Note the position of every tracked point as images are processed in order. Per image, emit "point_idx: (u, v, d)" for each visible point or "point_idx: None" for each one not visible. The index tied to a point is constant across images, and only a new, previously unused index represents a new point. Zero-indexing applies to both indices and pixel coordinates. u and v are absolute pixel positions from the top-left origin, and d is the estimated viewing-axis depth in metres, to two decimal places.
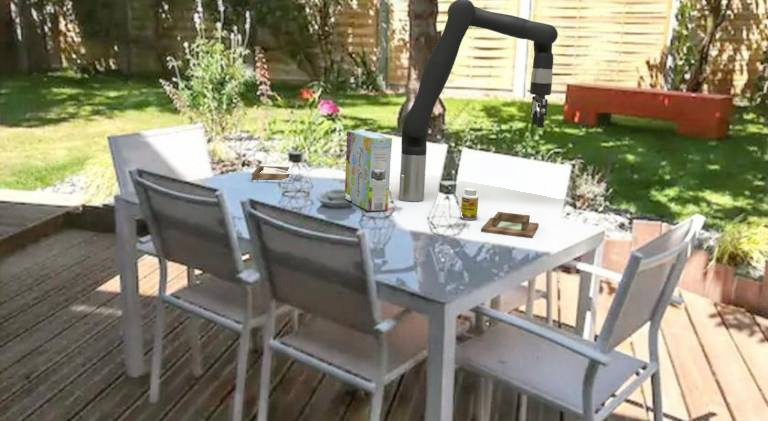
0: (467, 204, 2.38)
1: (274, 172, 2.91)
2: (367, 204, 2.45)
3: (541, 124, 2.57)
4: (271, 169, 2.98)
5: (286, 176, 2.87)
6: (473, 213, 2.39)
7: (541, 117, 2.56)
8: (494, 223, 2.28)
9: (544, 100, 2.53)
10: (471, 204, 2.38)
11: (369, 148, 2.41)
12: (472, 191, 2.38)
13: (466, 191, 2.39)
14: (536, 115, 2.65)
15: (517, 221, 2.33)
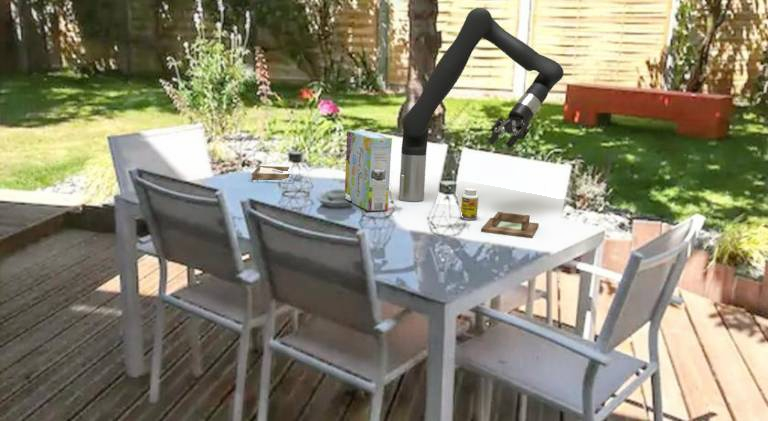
0: (467, 204, 2.38)
1: (271, 172, 2.91)
2: (367, 204, 2.45)
3: (512, 144, 2.40)
4: (268, 169, 2.97)
5: (286, 176, 2.87)
6: (473, 213, 2.39)
7: (516, 138, 2.40)
8: (494, 223, 2.28)
9: (529, 125, 2.40)
10: (471, 204, 2.38)
11: (369, 148, 2.41)
12: (472, 191, 2.38)
13: (466, 191, 2.39)
14: (496, 135, 2.47)
15: (517, 221, 2.33)
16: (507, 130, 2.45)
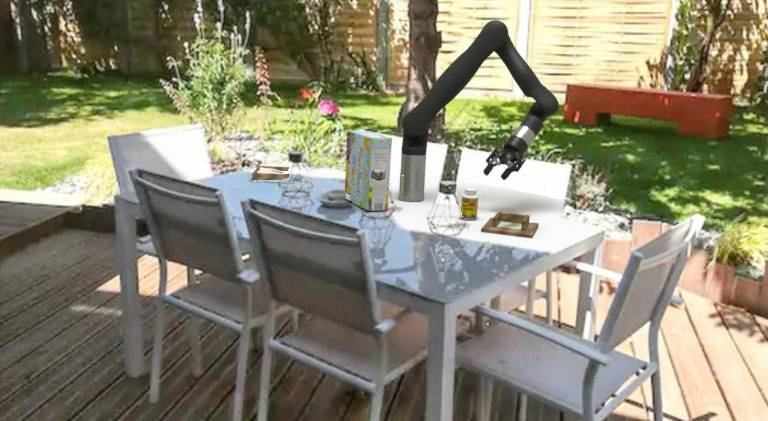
0: (467, 204, 2.38)
1: (270, 172, 2.90)
2: (367, 204, 2.45)
3: (506, 176, 2.41)
4: (267, 169, 2.97)
5: (286, 176, 2.87)
6: (473, 213, 2.39)
7: (511, 170, 2.42)
8: (494, 223, 2.28)
9: (524, 158, 2.42)
10: (471, 204, 2.38)
11: (369, 148, 2.41)
12: (472, 191, 2.38)
13: (466, 191, 2.39)
14: (491, 167, 2.49)
15: (517, 221, 2.33)
16: (502, 162, 2.47)
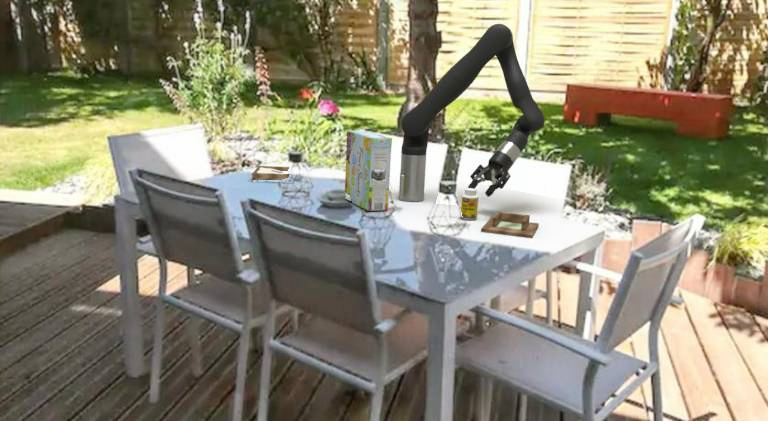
0: (467, 204, 2.38)
1: (269, 172, 2.90)
2: (367, 204, 2.45)
3: (491, 193, 2.39)
4: (267, 169, 2.97)
5: (286, 176, 2.87)
6: (473, 213, 2.39)
7: (495, 187, 2.39)
8: (494, 223, 2.28)
9: (508, 174, 2.39)
10: (471, 204, 2.38)
11: (369, 148, 2.41)
12: (472, 191, 2.38)
13: (466, 191, 2.39)
14: (476, 183, 2.46)
15: (517, 221, 2.33)
16: (486, 178, 2.44)
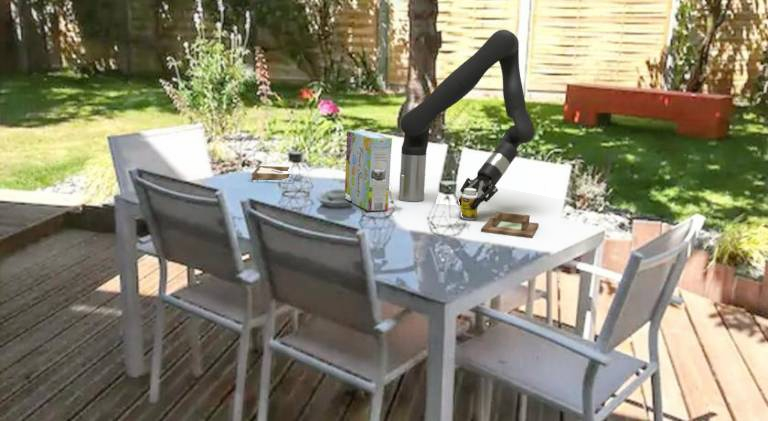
0: (467, 204, 2.38)
1: (269, 172, 2.90)
2: (367, 204, 2.45)
3: (476, 206, 2.37)
4: (267, 169, 2.97)
5: (286, 176, 2.87)
6: (473, 213, 2.39)
7: (480, 200, 2.37)
8: (494, 223, 2.28)
9: (495, 188, 2.37)
10: None
11: (369, 148, 2.41)
12: (472, 191, 2.38)
13: (466, 191, 2.39)
14: None
15: (517, 221, 2.33)
16: (477, 190, 2.42)
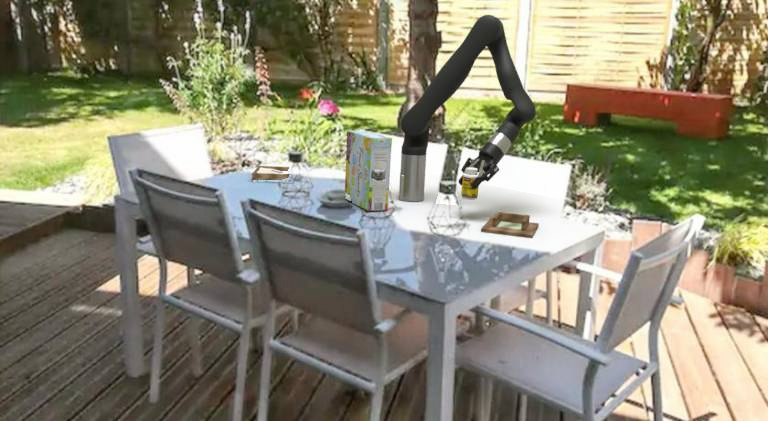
0: (468, 184, 2.37)
1: (269, 172, 2.90)
2: (367, 204, 2.45)
3: (477, 185, 2.36)
4: (267, 169, 2.97)
5: (286, 176, 2.87)
6: (474, 193, 2.38)
7: (481, 179, 2.36)
8: (494, 223, 2.28)
9: (497, 168, 2.36)
10: None
11: (369, 148, 2.41)
12: (473, 170, 2.36)
13: (467, 170, 2.37)
14: None
15: (517, 221, 2.33)
16: (478, 169, 2.40)
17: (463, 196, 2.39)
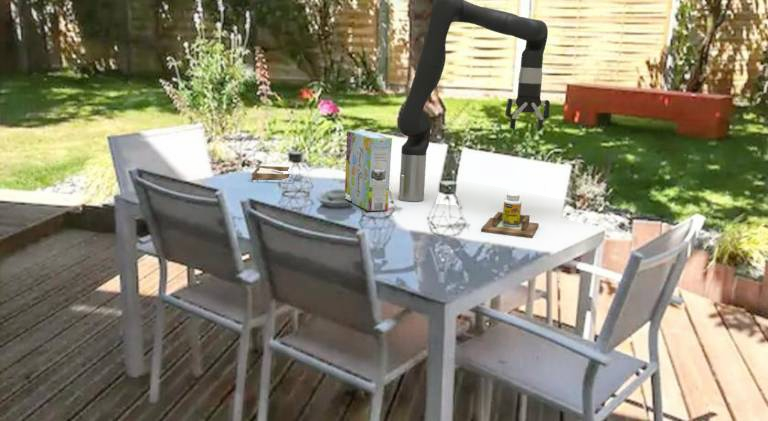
0: (510, 210, 2.27)
1: None
2: (367, 204, 2.45)
3: None
4: (267, 170, 2.96)
5: (286, 176, 2.87)
6: (516, 220, 2.28)
7: None
8: (494, 223, 2.28)
9: None
10: (514, 210, 2.27)
11: (369, 148, 2.41)
12: (515, 196, 2.26)
13: (509, 196, 2.27)
14: None
15: None
16: None
17: (505, 223, 2.29)
